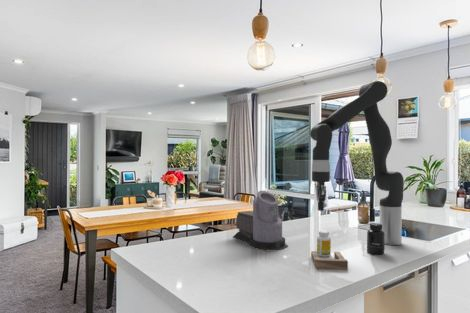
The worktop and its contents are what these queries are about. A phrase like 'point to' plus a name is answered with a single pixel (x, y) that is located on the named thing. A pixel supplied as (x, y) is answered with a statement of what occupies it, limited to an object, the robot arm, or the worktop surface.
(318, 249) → the supplement bottle
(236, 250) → the worktop surface
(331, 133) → the robot arm
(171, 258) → the worktop surface
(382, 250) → the supplement bottle
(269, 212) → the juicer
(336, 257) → the walnut U-rest
